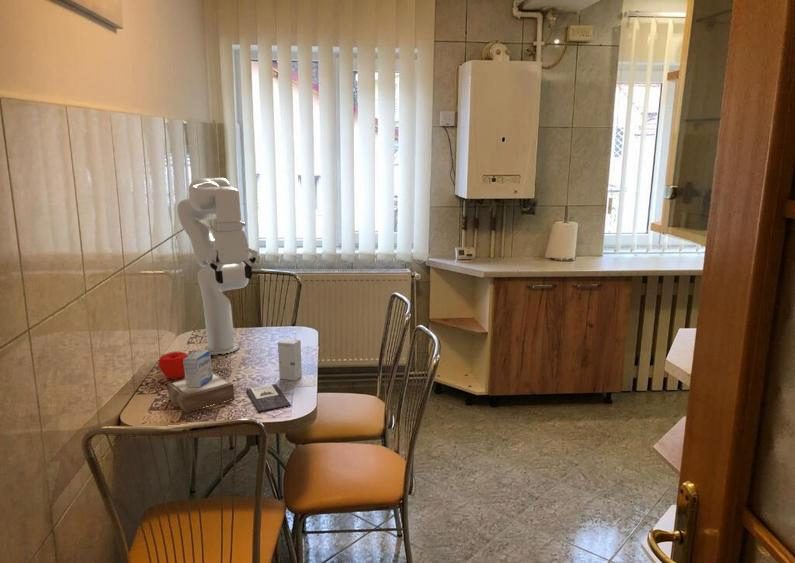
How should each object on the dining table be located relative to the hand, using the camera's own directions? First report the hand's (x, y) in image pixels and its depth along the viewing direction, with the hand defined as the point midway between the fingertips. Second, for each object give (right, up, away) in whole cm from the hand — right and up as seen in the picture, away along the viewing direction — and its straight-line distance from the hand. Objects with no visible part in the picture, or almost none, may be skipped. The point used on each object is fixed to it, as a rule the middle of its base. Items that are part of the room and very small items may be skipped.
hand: (234, 280), depth 191 cm
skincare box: (+19, -31, -3) cm, 36 cm away
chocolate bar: (+15, -35, -19) cm, 42 cm away
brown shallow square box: (-5, -35, -18) cm, 39 cm away
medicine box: (-5, -30, -19) cm, 36 cm away
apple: (-19, -32, +1) cm, 37 cm away
